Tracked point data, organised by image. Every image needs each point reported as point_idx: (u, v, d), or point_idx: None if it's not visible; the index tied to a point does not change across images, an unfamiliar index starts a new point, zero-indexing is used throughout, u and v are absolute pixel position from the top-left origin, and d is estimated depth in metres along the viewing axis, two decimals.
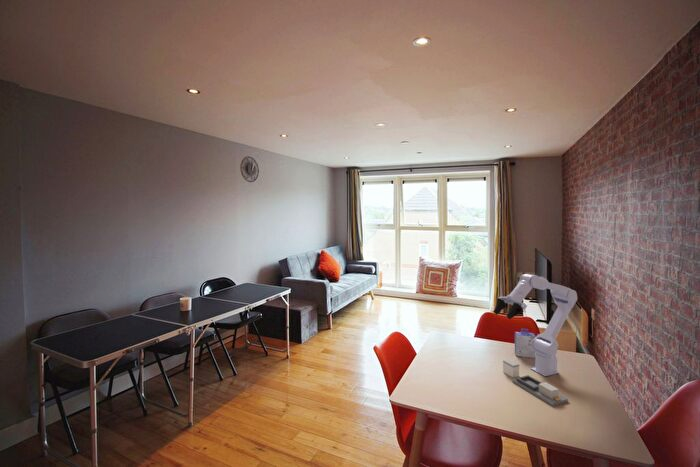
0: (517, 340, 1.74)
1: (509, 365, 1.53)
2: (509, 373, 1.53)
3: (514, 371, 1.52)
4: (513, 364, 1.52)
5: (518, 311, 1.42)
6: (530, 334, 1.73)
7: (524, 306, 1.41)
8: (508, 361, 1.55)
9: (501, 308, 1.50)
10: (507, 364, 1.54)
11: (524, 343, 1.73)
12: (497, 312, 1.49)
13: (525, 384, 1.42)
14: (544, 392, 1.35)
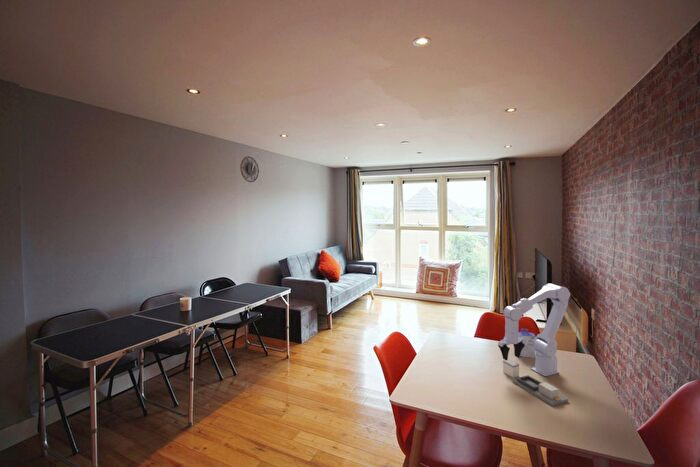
0: None
1: (509, 365, 1.53)
2: (509, 373, 1.53)
3: (514, 371, 1.52)
4: (513, 364, 1.52)
5: None
6: (530, 334, 1.73)
7: (499, 344, 1.52)
8: (508, 361, 1.55)
9: (518, 349, 1.55)
10: (507, 364, 1.54)
11: (524, 343, 1.73)
12: (517, 355, 1.55)
13: (525, 384, 1.42)
14: (544, 392, 1.35)
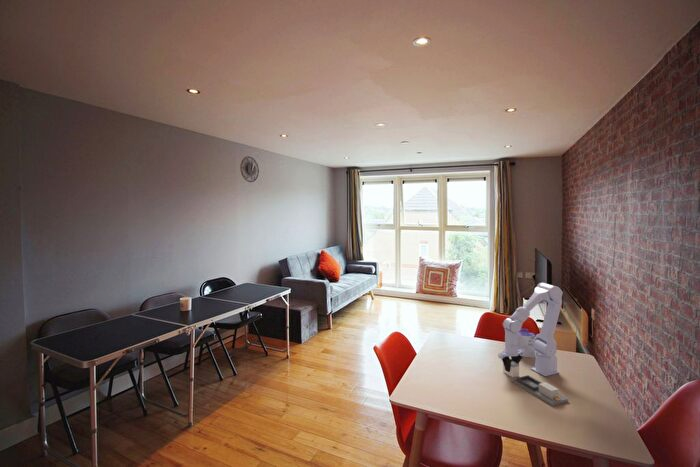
0: None
1: None
2: (509, 373, 1.53)
3: (514, 371, 1.52)
4: (513, 364, 1.52)
5: None
6: (530, 334, 1.73)
7: (499, 356, 1.52)
8: None
9: (516, 362, 1.54)
10: None
11: (524, 343, 1.73)
12: None
13: (525, 384, 1.42)
14: (544, 392, 1.35)
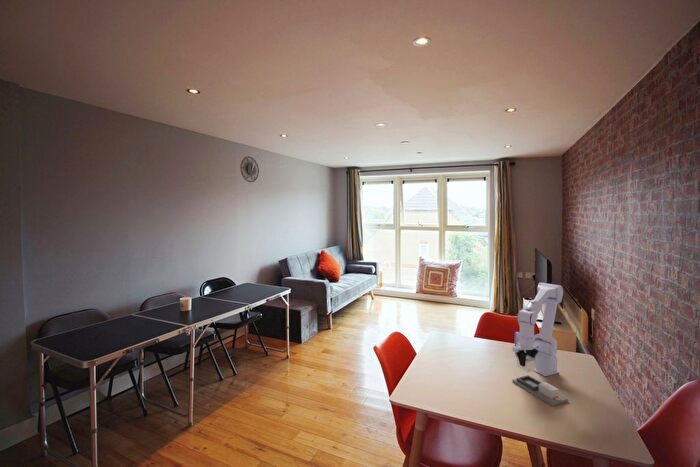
0: (517, 340, 1.74)
1: None
2: (524, 368, 1.44)
3: (529, 366, 1.43)
4: (528, 358, 1.43)
5: None
6: None
7: (513, 350, 1.43)
8: None
9: (531, 356, 1.45)
10: None
11: None
12: None
13: (525, 384, 1.42)
14: (544, 392, 1.35)
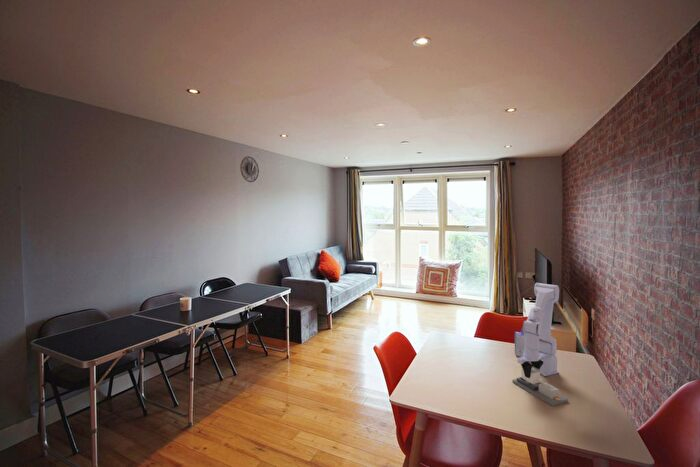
0: (517, 340, 1.74)
1: None
2: (529, 379, 1.42)
3: (534, 377, 1.40)
4: (533, 369, 1.41)
5: None
6: None
7: (518, 361, 1.40)
8: None
9: (536, 367, 1.43)
10: None
11: (524, 343, 1.73)
12: None
13: (525, 384, 1.42)
14: (544, 392, 1.35)
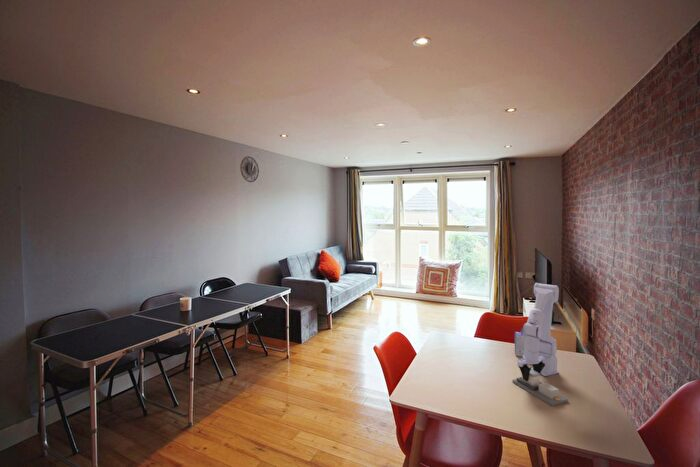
0: (517, 340, 1.74)
1: (529, 374, 1.42)
2: (529, 383, 1.42)
3: (534, 381, 1.40)
4: (533, 373, 1.41)
5: None
6: None
7: (518, 364, 1.40)
8: None
9: (538, 370, 1.43)
10: None
11: (524, 343, 1.73)
12: None
13: (525, 384, 1.42)
14: (544, 392, 1.35)
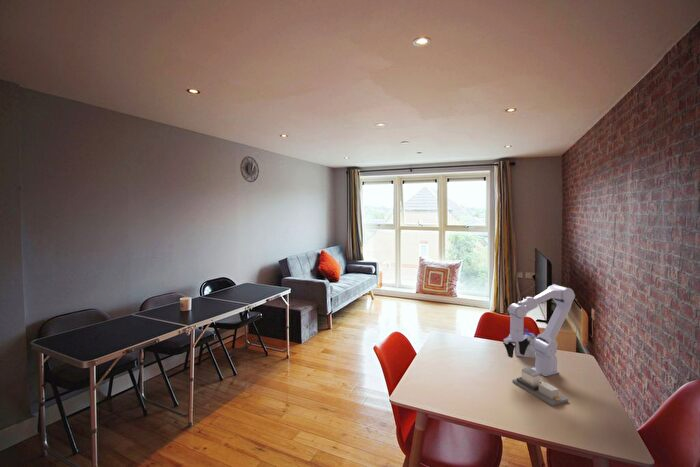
0: None
1: (529, 374, 1.42)
2: (529, 383, 1.42)
3: (534, 381, 1.40)
4: (533, 373, 1.41)
5: None
6: (530, 334, 1.73)
7: (504, 341, 1.51)
8: (527, 370, 1.44)
9: (523, 347, 1.54)
10: (526, 373, 1.43)
11: None
12: (522, 352, 1.55)
13: (525, 384, 1.42)
14: (544, 392, 1.35)
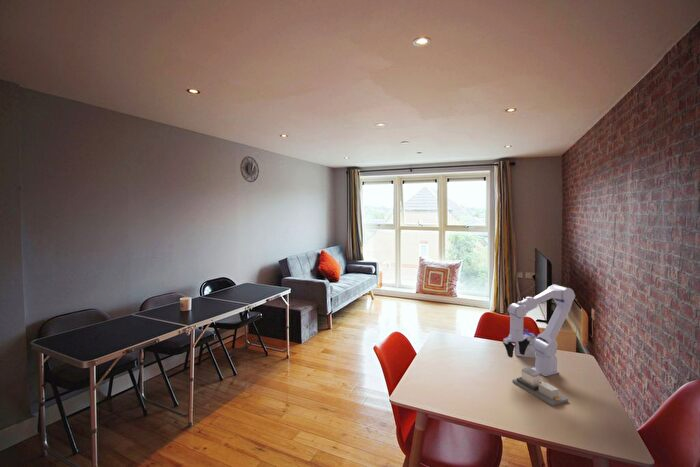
0: None
1: (529, 374, 1.42)
2: (529, 383, 1.42)
3: (534, 381, 1.40)
4: (533, 373, 1.41)
5: None
6: (530, 334, 1.73)
7: (504, 341, 1.51)
8: (527, 370, 1.44)
9: (523, 347, 1.54)
10: (526, 373, 1.43)
11: None
12: (522, 352, 1.55)
13: (525, 384, 1.42)
14: (544, 392, 1.35)
